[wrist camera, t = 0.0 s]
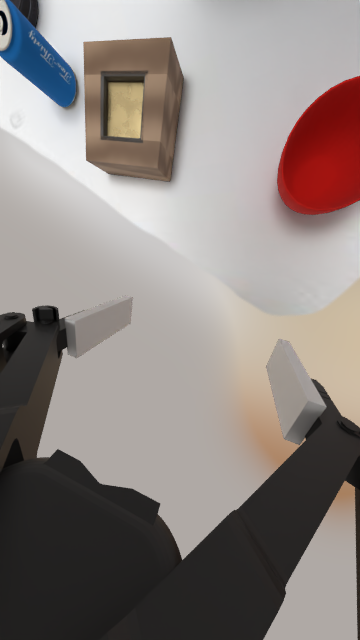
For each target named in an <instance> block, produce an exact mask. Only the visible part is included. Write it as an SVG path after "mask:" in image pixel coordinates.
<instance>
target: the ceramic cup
mask: <svg viewBox="0 0 360 640" xmlns="http://www.w3.org/2000/svg"><path fill="white" fill-rule="evenodd" d="M277 183H278V190H279V193H280V196H281V198H282V200H283V201H284V203H285V204H286V205H287V206H288V207H289V208H290V209H292V210H294V211H295V212H298V213H302V214H309V215H316V214H323V213H329V212H332V211H335V210H338V209H341V208H344V207H347V206H349V205H351V204H353V203H355V202H357V201H359V200H360V76H358V77H355V78H352V79H349V80H345V81H343V82H341V83H340V84H338V85H336V86H334V87H332V88H330V89H329V90H328V91H326V92H325V93H324V94H322V95H321V96H320V97H318V98H317V99H316V100H315V101H314V102H313V103H312V104H311V105H310V106H309V107H308V108H307V109H306V111H305V112H304V113H303V114H302V116H301V117H300V118H299V120H298V121H297V122H296V124H295V126H294V128H293V129H292V131H291V133H290V135H289V137H288V139H287V142H286V144H285V146H284V149H283V152H282V155H281V159H280V163H279V168H278V178H277Z"/></svg>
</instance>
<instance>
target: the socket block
mask: <svg viewBox="0 0 360 640" xmlns="http://www.w3.org/2000/svg"><path fill="white" fill-rule="evenodd" d="M183 79H184V77H183V74H182V71H181V68H180V65H179V61H178V58H177V55H176V52H175V49H174V45H173V42H172V39H171V37H169V38H150V39H131V40H112V41H93V42H84V83H85V126H86V160H87V161H88V162H90V163H92V164H93V165H95V166H97V167H98V168H100V169H101V170H103V171H105V172H106V173H108V174H114V175H122V176H130V177H138V178H146V179H154V180H162V181H170V179H171V171H172V163H173V156H174V148H175V140H176V133H177V125H178V117H179V110H180V102H181V94H182V86H183ZM108 82H129V83H144V88H143V102H142V117H141V131H140V138H128V137H115V136H107V131H108Z"/></svg>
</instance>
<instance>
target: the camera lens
mask: <svg viewBox="0 0 360 640" xmlns="http://www.w3.org/2000/svg"><path fill="white" fill-rule="evenodd" d="M10 1H11V2H12V3H13V4H14V5H15V6H16V7H17V9H18V10H19V11H20V12H21V13H22V14H23V15H24V16H25V17H26V19H27V20H28V21H29V22H30V23H31V24H32V25H33V26H34V27H35V26H36V23H37V17H38V6H37V0H10Z"/></svg>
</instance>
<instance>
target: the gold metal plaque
mask: <svg viewBox="0 0 360 640" xmlns="http://www.w3.org/2000/svg"><path fill="white" fill-rule="evenodd" d="M143 88H144V83H129V82H108V131H107V136H115V137H128V138H140V131H141V117H142V102H143Z"/></svg>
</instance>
